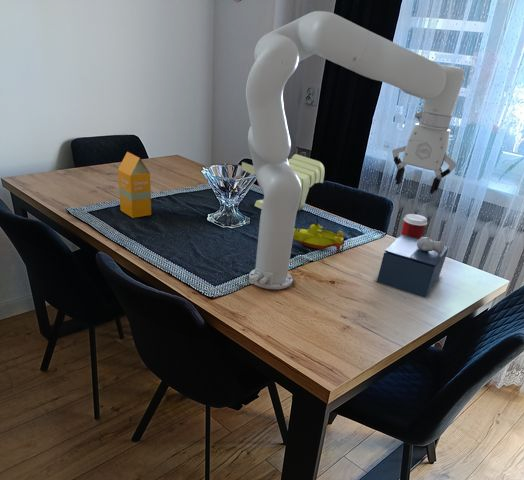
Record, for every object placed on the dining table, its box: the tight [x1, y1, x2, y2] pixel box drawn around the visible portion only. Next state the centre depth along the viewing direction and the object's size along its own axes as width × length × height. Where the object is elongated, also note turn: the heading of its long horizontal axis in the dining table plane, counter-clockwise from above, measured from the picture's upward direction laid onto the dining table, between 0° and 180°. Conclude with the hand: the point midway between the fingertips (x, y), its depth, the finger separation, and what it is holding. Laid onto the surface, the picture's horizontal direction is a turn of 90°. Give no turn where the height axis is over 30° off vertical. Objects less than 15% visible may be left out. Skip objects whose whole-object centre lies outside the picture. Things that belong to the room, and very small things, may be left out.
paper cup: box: [400, 213, 428, 239], centre depth 164 cm, size 8×8×14 cm
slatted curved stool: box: [241, 153, 326, 212], centre depth 192 cm, size 30×16×18 cm, turn 136°
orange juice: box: [117, 151, 152, 219], centre depth 172 cm, size 8×9×20 cm
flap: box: [384, 233, 419, 259], centre depth 149 cm, size 17×7×1 cm, turn 151°
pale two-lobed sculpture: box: [417, 236, 445, 254], centre depth 145 cm, size 4×8×5 cm
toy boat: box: [293, 218, 346, 253], centre depth 164 cm, size 6×18×10 cm, turn 78°
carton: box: [376, 245, 449, 298], centre depth 150 cm, size 17×15×10 cm
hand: (415, 188), depth 136 cm, fingers open, 9 cm apart
